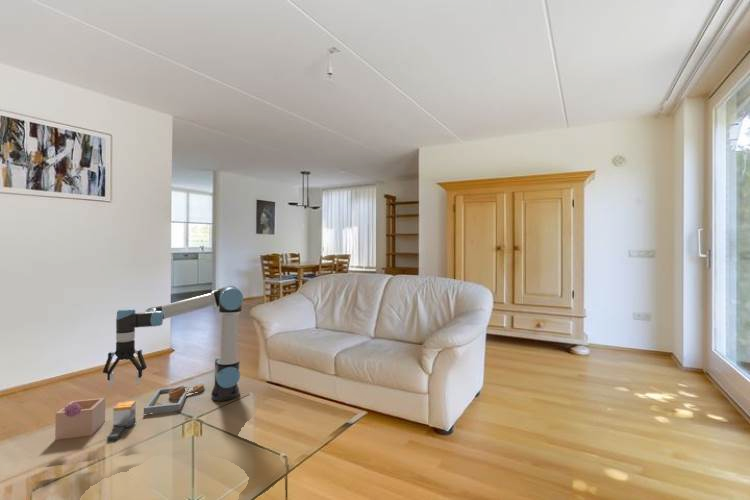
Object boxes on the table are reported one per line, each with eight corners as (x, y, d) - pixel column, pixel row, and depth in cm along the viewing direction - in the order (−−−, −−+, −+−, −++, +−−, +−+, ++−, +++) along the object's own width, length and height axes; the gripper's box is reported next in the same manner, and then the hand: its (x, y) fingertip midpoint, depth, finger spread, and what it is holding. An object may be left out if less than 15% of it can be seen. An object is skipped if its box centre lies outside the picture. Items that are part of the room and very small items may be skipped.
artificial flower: (86, 423, 172) (74, 418, 153) (70, 419, 170) (56, 414, 151) (95, 409, 176) (84, 402, 156) (80, 405, 174) (67, 398, 155)
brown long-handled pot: (174, 405, 199) (170, 393, 199) (170, 403, 205) (166, 392, 205) (206, 388, 212) (202, 378, 212) (202, 387, 218) (198, 377, 218)
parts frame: (190, 392, 215) (190, 386, 215) (180, 411, 189) (180, 404, 189) (158, 395, 210) (158, 389, 210) (143, 415, 184) (143, 408, 184)
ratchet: (138, 420, 179) (138, 404, 179) (124, 439, 161) (124, 421, 161) (117, 423, 176) (117, 406, 176) (100, 442, 158) (100, 424, 158)
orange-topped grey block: (135, 416, 177) (135, 400, 178) (130, 423, 171) (130, 406, 171) (119, 418, 175) (119, 402, 176) (113, 425, 169) (113, 408, 169)
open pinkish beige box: (105, 421, 177) (105, 397, 178) (92, 435, 164) (92, 409, 164) (71, 425, 173) (71, 401, 173) (55, 439, 160) (55, 413, 160)
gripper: (154, 337, 181) (153, 380, 180) (101, 340, 174) (100, 385, 173) (149, 340, 173) (149, 385, 173) (94, 344, 166) (93, 390, 166)
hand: (124, 385), depth 173 cm, fingers open, 10 cm apart
